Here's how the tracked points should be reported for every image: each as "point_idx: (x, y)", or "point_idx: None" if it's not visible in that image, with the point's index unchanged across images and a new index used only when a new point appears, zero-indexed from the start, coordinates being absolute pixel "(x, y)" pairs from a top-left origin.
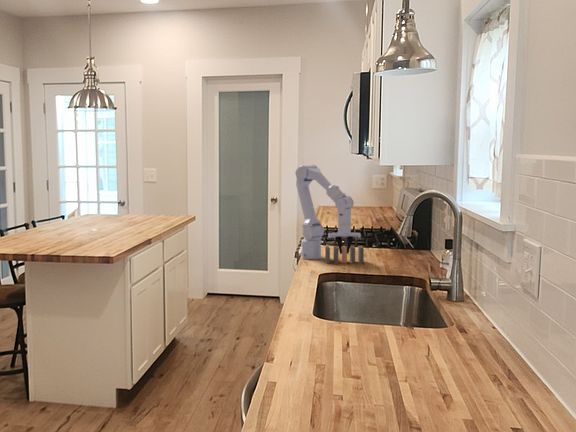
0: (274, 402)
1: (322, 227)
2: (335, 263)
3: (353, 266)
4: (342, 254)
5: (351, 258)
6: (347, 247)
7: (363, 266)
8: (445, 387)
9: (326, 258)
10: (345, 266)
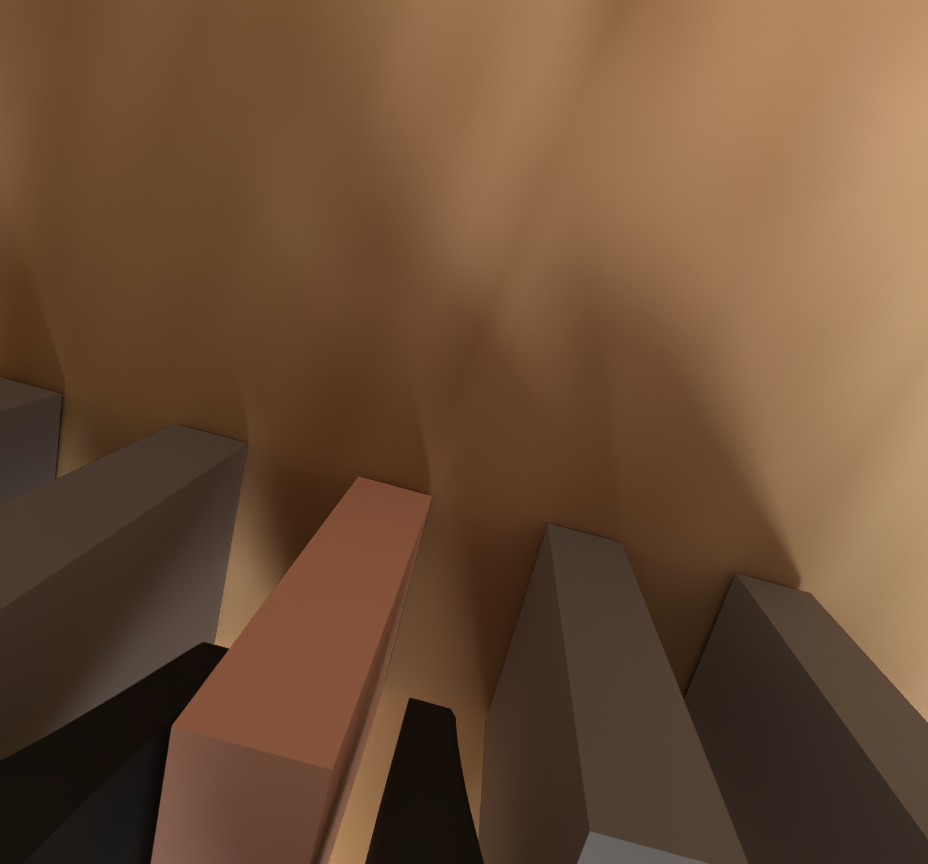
0: None
1: None
2: (610, 540)
3: (314, 144)
4: (357, 751)
5: (192, 526)
6: (107, 834)
7: (78, 60)
8: None
9: (873, 673)
10: (501, 210)
